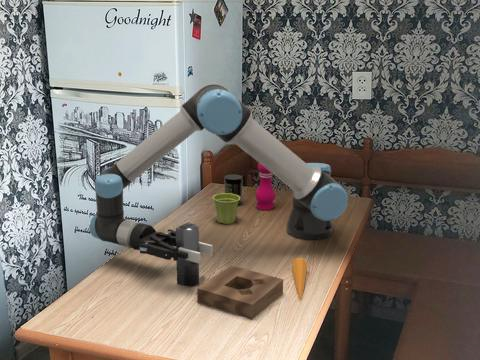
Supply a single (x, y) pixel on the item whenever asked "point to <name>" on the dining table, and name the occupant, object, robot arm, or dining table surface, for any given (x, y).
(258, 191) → the pepper mill
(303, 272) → the carrot
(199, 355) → the dining table surface
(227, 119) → the robot arm
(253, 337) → the dining table surface
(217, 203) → the plant pot
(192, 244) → the d peg
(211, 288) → the socket block
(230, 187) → the supplement container
